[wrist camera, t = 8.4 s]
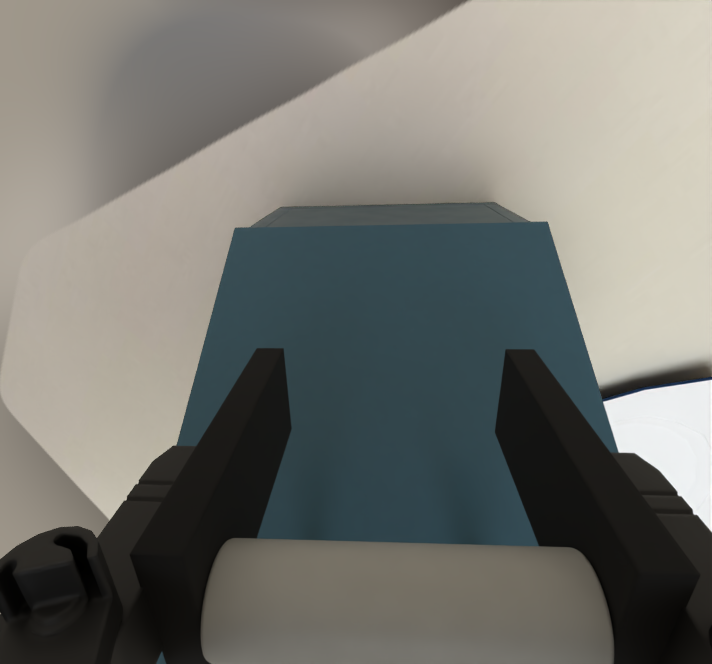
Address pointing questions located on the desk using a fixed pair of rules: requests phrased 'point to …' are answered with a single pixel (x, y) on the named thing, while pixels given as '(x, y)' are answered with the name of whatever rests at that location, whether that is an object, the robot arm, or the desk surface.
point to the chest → (389, 215)
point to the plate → (670, 435)
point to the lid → (397, 450)
